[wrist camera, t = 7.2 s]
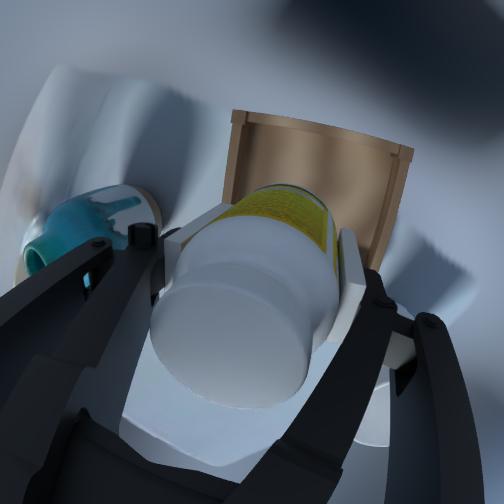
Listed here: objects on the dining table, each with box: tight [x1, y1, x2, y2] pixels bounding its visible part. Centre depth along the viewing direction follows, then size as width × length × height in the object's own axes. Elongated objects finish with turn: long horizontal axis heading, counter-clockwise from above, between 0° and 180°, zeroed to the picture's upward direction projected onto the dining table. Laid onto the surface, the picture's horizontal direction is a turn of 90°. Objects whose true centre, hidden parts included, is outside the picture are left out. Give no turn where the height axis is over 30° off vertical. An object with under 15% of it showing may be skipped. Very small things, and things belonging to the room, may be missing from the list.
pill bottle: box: [150, 183, 339, 410], centre depth 12 cm, size 6×6×11 cm
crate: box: [222, 110, 414, 273], centre depth 30 cm, size 18×16×5 cm
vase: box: [23, 184, 162, 287], centre depth 30 cm, size 11×11×19 cm
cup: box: [354, 302, 415, 447], centre depth 28 cm, size 12×12×16 cm
